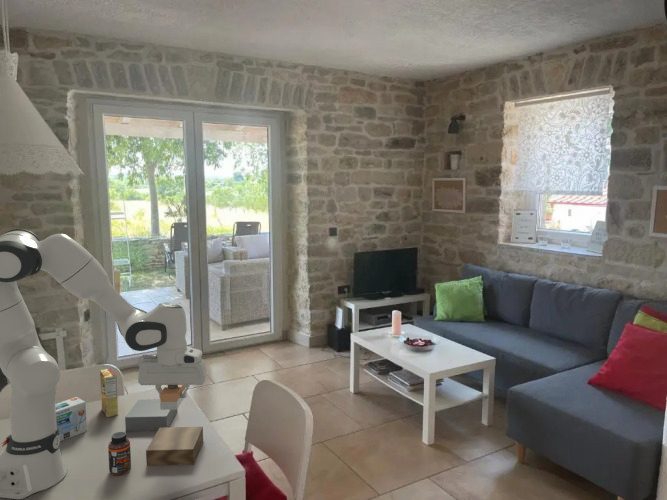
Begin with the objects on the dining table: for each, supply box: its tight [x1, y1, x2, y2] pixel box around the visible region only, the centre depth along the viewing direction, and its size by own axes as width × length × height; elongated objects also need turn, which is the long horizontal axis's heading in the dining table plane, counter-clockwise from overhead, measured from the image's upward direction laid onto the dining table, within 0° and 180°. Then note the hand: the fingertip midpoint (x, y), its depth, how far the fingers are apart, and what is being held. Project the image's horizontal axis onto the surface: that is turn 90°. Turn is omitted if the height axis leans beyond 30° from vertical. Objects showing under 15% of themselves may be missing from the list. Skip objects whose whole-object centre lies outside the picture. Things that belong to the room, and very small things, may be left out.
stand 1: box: [124, 398, 178, 432], centre depth 175 cm, size 14×14×5 cm
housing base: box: [160, 388, 186, 411], centre depth 152 cm, size 10×5×2 cm, turn 4°
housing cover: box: [159, 385, 186, 402], centre depth 151 cm, size 10×5×4 cm, turn 4°
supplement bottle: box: [107, 431, 132, 476], centre depth 144 cm, size 6×6×11 cm
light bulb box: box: [55, 396, 88, 442], centre depth 165 cm, size 11×7×11 cm, turn 143°
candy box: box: [99, 368, 119, 418], centre depth 181 cm, size 9×4×15 cm, turn 37°
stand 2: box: [145, 426, 204, 467], centre depth 154 cm, size 14×14×5 cm
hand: (173, 397), depth 152 cm, fingers closed on housing base, housing cover, 5 cm apart
